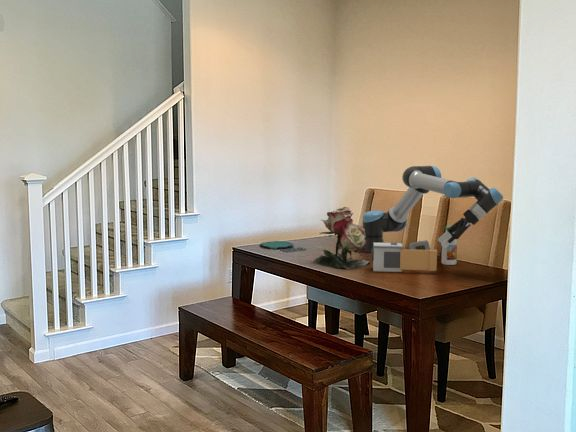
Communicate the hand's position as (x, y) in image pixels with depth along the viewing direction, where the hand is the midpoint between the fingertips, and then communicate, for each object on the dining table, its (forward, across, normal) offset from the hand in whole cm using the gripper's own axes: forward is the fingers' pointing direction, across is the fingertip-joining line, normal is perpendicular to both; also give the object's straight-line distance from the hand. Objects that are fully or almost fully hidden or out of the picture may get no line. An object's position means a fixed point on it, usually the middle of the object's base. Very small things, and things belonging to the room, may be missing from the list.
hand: (440, 244), depth 293 cm
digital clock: (+16, +31, -6) cm, 35 cm away
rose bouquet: (+44, +20, +22) cm, 53 cm away
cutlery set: (+73, +62, +49) cm, 107 cm away
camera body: (+28, +6, +7) cm, 30 cm away
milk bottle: (+5, +25, -16) cm, 31 cm away
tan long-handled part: (+17, +1, -2) cm, 17 cm away
